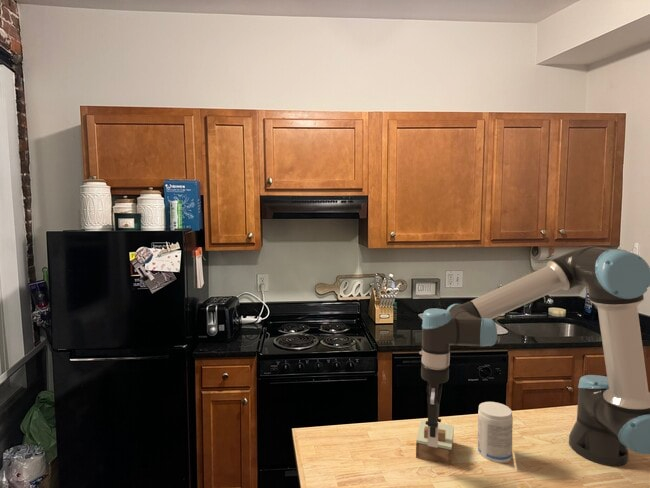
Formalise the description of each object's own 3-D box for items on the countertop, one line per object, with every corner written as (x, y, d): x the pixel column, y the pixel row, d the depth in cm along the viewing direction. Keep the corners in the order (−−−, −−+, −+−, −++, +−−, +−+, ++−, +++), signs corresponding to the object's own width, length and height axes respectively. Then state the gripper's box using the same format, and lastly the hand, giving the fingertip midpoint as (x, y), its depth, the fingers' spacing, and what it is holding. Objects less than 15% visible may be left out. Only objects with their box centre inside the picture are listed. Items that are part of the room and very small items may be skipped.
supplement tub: (518, 458, 118) (520, 411, 117) (499, 469, 113) (501, 420, 111) (488, 442, 126) (490, 398, 125) (470, 452, 121) (471, 406, 119)
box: (453, 444, 124) (453, 429, 124) (451, 468, 113) (451, 450, 113) (420, 438, 128) (421, 423, 127) (415, 460, 117) (416, 443, 116)
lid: (453, 428, 124) (453, 418, 124) (451, 449, 113) (451, 438, 112) (421, 422, 127) (421, 412, 127) (416, 442, 116) (416, 431, 116)
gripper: (424, 355, 117) (422, 430, 119) (418, 371, 105) (416, 455, 107) (450, 358, 114) (447, 435, 116) (447, 376, 102) (444, 462, 104)
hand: (432, 445), depth 111 cm, fingers closed
